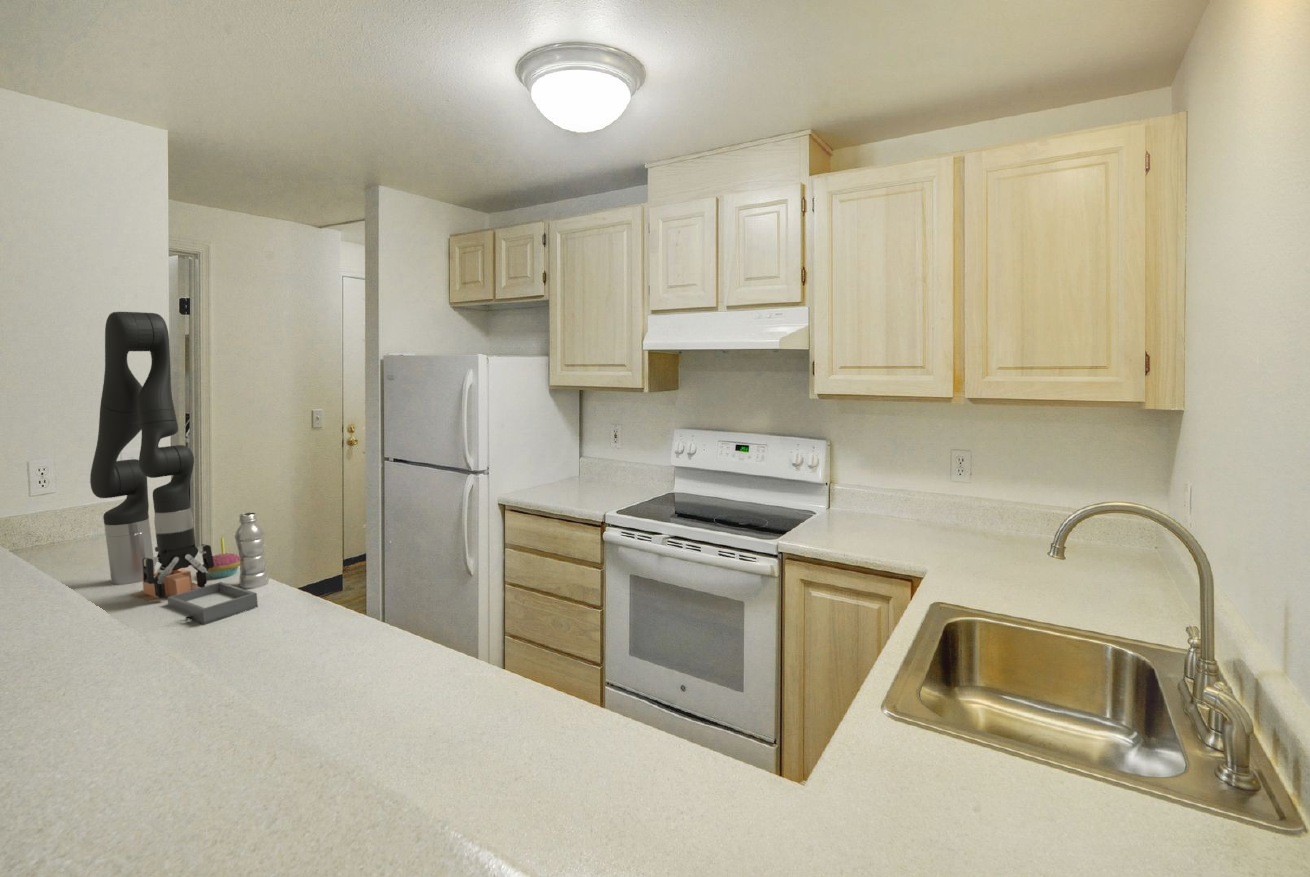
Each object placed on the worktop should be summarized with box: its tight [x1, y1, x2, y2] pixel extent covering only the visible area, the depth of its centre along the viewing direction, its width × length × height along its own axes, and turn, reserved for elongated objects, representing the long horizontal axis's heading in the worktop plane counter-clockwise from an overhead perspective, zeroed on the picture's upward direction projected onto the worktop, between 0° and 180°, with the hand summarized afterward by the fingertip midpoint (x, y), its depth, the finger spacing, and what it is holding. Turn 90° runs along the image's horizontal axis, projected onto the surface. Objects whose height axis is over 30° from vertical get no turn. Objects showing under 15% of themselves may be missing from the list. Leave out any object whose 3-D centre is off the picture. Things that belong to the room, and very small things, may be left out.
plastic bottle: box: [234, 512, 270, 590], centre depth 167 cm, size 6×7×20 cm
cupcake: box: [206, 534, 240, 579], centre depth 176 cm, size 9×8×12 cm
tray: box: [166, 581, 259, 626], centre depth 155 cm, size 16×12×4 cm
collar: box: [142, 568, 193, 599], centre depth 163 cm, size 12×8×4 cm, turn 60°
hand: (182, 592), depth 161 cm, fingers open, 8 cm apart
